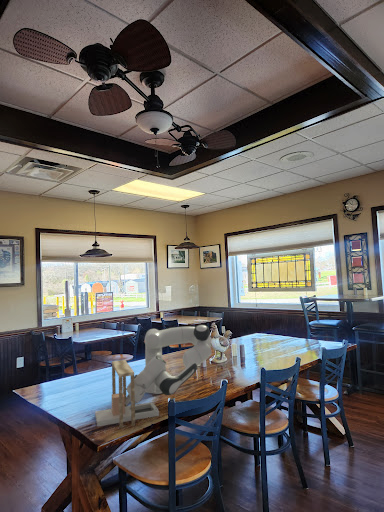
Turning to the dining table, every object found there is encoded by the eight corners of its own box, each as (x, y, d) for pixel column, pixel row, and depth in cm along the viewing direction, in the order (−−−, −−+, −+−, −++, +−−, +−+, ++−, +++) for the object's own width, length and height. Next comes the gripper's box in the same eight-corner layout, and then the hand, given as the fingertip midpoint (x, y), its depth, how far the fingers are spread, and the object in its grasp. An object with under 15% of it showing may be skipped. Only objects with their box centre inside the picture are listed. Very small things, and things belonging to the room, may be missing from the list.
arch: (126, 406, 199) (125, 359, 201) (135, 425, 173) (134, 372, 174) (112, 408, 196) (111, 361, 198) (120, 428, 170) (119, 374, 172)
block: (122, 409, 188) (122, 392, 188) (124, 413, 182) (124, 396, 183) (111, 411, 186) (111, 394, 186) (113, 415, 180) (113, 398, 180)
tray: (152, 406, 198) (152, 402, 198) (159, 415, 184) (159, 410, 185) (95, 416, 186) (95, 411, 187) (97, 426, 173) (97, 421, 173)
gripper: (151, 391, 180) (133, 414, 176) (142, 380, 199) (126, 400, 195) (142, 384, 178) (123, 406, 174) (134, 374, 197) (118, 394, 194)
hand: (125, 403), depth 185 cm, fingers closed
